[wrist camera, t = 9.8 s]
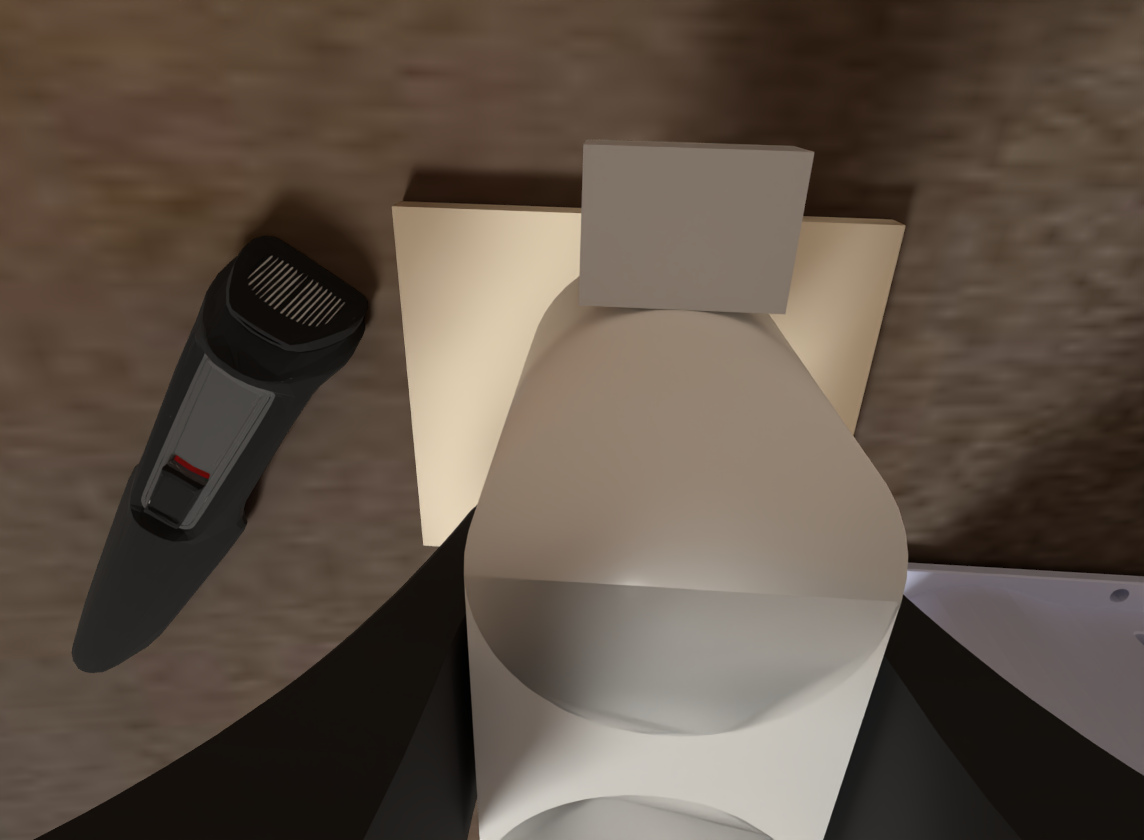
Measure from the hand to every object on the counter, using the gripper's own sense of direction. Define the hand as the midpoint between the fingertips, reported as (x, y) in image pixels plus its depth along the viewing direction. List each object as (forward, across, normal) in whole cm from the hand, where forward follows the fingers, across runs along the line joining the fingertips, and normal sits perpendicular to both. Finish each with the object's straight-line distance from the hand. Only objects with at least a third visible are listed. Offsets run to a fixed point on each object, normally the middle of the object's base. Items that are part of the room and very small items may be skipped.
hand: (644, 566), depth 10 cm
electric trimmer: (+9, +12, +4) cm, 16 cm away
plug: (+2, 0, 0) cm, 2 cm away
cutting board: (+9, 0, +1) cm, 9 cm away
